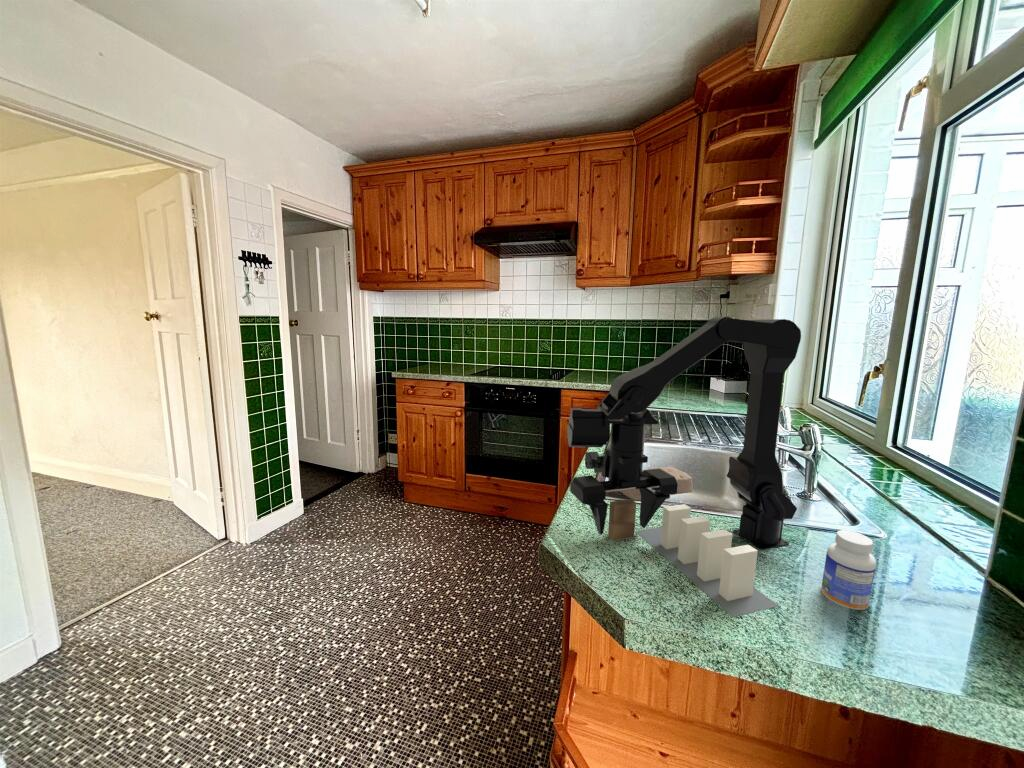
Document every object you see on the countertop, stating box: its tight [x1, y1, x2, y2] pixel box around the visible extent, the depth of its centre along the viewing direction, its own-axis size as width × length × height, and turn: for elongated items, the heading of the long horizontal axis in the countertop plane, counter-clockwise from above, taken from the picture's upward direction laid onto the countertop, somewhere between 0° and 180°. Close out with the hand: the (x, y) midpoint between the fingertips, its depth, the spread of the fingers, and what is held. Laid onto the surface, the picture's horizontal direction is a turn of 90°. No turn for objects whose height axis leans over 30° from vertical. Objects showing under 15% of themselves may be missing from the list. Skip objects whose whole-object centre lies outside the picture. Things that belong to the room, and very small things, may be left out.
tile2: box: [661, 503, 692, 549], centre depth 71 cm, size 4×2×7 cm, turn 106°
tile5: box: [719, 544, 758, 601], centre depth 58 cm, size 4×2×7 cm, turn 106°
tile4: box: [697, 529, 733, 581], centre depth 62 cm, size 4×2×7 cm, turn 106°
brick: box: [618, 466, 694, 501], centre depth 95 cm, size 17×8×5 cm, turn 108°
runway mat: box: [634, 526, 780, 618], centre depth 66 cm, size 8×23×1 cm, turn 16°
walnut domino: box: [607, 498, 637, 541], centre depth 74 cm, size 4×2×7 cm, turn 106°
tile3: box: [678, 515, 711, 564], centre depth 67 cm, size 4×2×7 cm, turn 106°
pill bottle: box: [820, 529, 877, 611], centre depth 58 cm, size 5×5×10 cm
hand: (621, 529), depth 74 cm, fingers open, 8 cm apart
